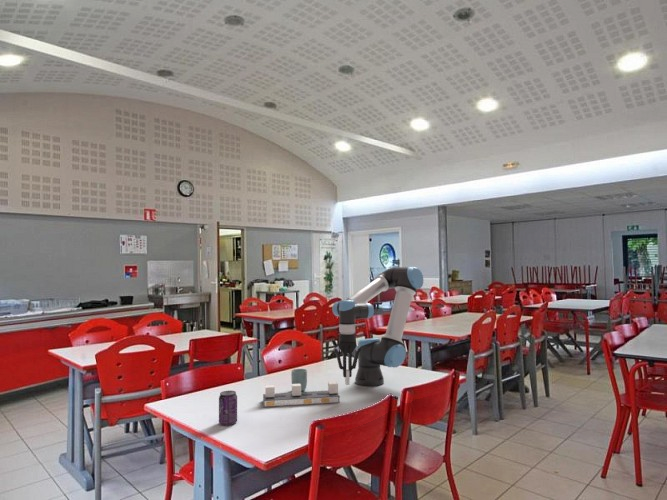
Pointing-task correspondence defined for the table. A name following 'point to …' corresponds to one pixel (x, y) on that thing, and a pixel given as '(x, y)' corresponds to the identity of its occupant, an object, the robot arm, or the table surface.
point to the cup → (299, 377)
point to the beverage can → (228, 407)
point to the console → (300, 399)
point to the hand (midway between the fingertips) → (347, 384)
